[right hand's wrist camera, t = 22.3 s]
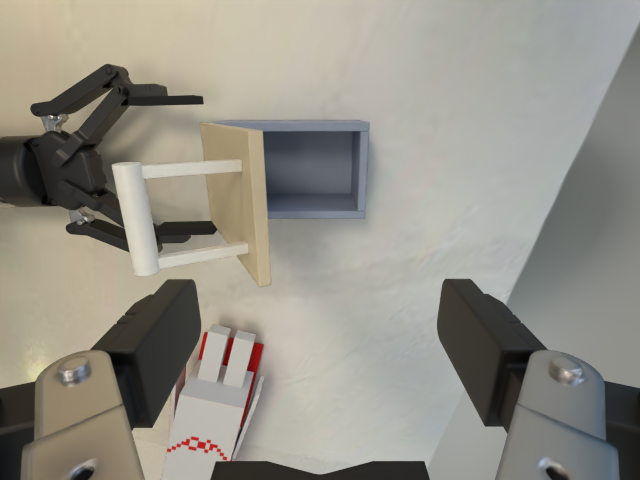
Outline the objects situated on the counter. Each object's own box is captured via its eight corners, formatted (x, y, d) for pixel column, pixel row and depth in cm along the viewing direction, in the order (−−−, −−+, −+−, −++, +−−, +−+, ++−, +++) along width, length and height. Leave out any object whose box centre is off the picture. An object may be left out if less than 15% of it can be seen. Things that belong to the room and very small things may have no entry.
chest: (359, 120, 42) (369, 122, 33) (356, 198, 46) (365, 218, 37) (229, 120, 42) (206, 122, 33) (236, 198, 46) (216, 219, 37)
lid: (263, 130, 19) (101, 134, 16) (272, 285, 23) (140, 315, 19) (209, 122, 33) (116, 124, 30) (219, 219, 36) (137, 230, 33)
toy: (269, 365, 43) (218, 546, 49) (278, 318, 56) (237, 466, 62) (172, 343, 42) (133, 531, 48) (205, 300, 55) (170, 452, 61)
